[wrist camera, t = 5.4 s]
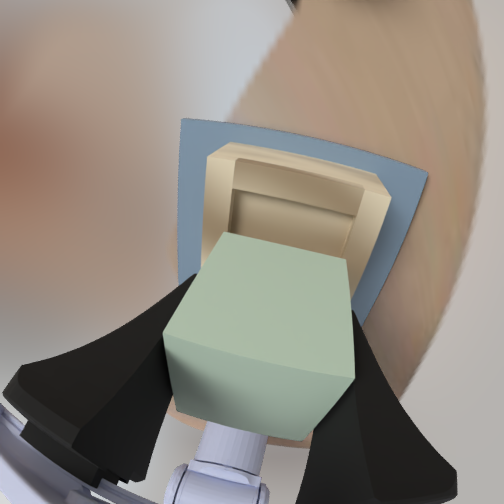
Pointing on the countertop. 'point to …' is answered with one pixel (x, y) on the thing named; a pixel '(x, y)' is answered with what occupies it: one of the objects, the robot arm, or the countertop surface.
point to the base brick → (293, 203)
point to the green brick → (262, 338)
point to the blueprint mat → (221, 133)
